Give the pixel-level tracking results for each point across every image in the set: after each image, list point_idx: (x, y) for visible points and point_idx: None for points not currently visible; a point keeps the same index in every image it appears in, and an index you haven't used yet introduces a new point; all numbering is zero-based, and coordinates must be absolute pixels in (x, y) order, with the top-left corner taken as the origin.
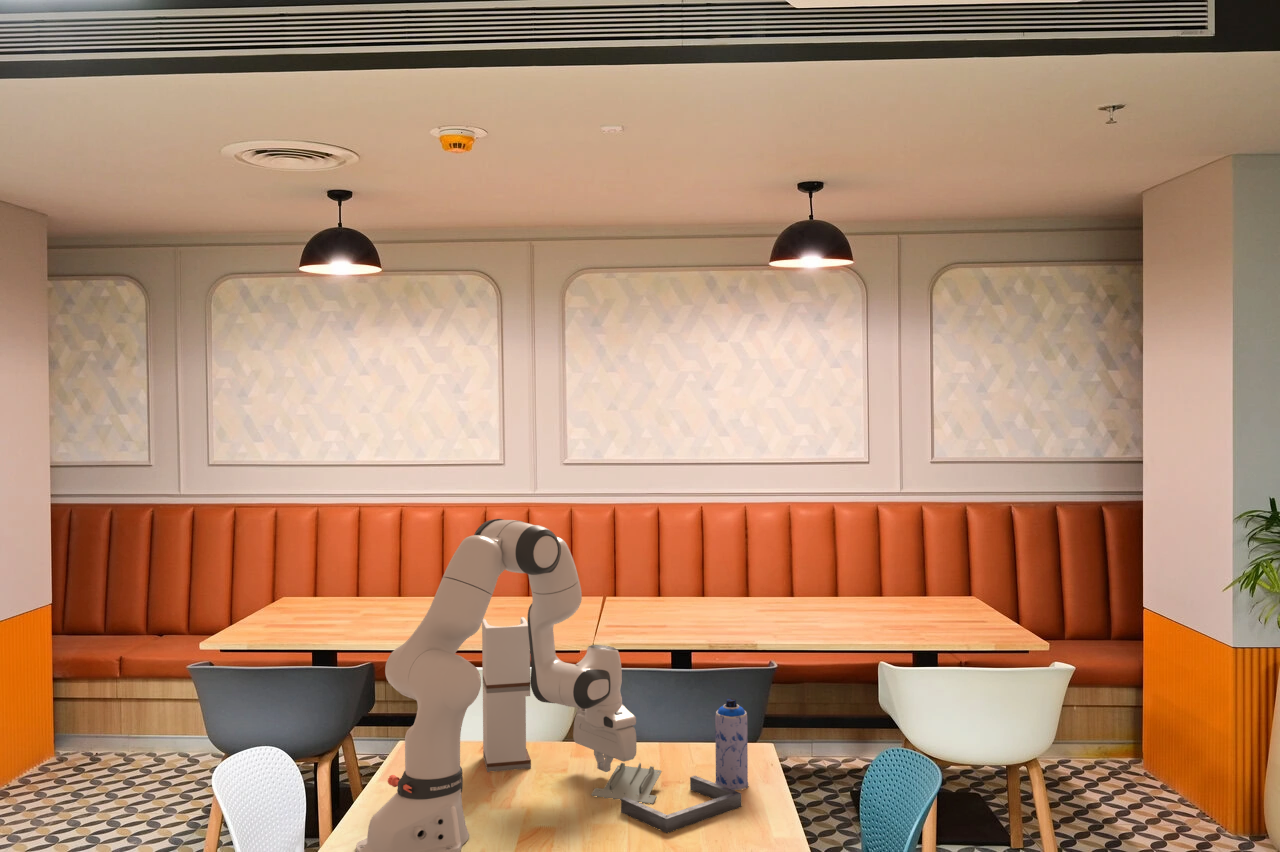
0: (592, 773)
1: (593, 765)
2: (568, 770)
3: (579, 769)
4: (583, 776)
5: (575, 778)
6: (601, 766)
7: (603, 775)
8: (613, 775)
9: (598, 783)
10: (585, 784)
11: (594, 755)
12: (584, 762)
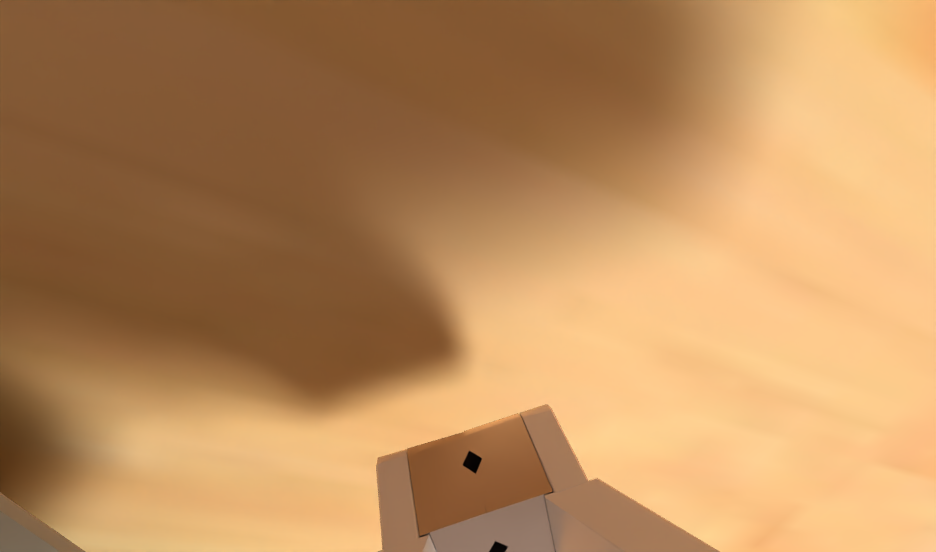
0: (626, 314)
1: (799, 384)
2: (910, 86)
3: (827, 226)
4: (607, 182)
5: (609, 37)
6: (461, 479)
7: (499, 397)
8: (10, 545)
9: (245, 271)
10: (272, 71)
11: (710, 549)
12: (920, 335)
